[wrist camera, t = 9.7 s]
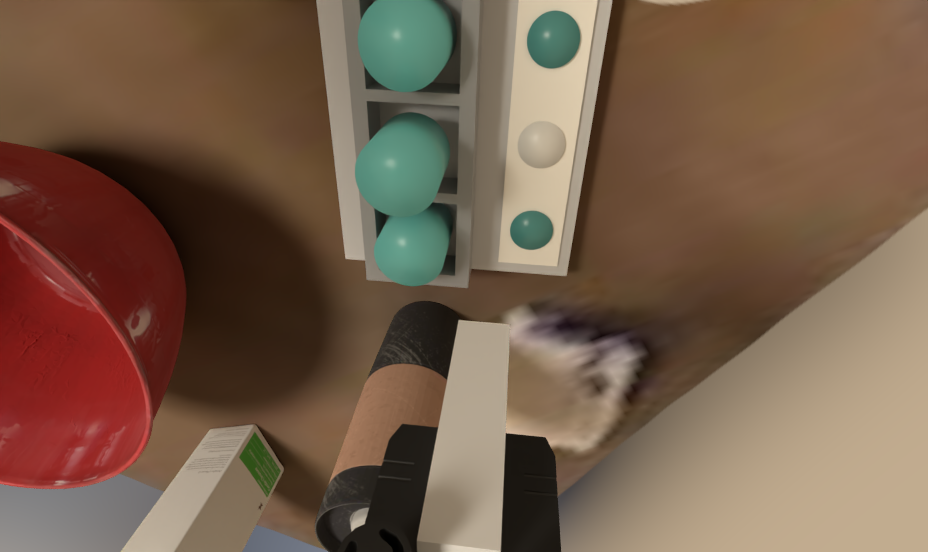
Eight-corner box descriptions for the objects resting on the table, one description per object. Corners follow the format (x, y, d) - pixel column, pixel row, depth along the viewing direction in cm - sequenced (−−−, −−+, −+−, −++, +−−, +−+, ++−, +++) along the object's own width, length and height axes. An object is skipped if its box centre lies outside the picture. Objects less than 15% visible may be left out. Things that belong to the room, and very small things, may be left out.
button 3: (389, 192, 36) (371, 221, 32) (453, 196, 36) (444, 226, 32) (392, 249, 39) (376, 283, 35) (452, 253, 39) (444, 288, 34)
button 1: (378, -12, 29) (353, -9, 25) (458, -9, 29) (446, -5, 25) (382, 73, 32) (361, 89, 28) (456, 77, 32) (445, 94, 27)
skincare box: (286, 468, 60) (219, 609, 47) (239, 472, 61) (161, 610, 48) (254, 420, 56) (171, 560, 43) (204, 426, 57) (109, 563, 44)
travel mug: (384, 353, 48) (310, 560, 31) (393, 290, 44) (313, 489, 27) (460, 369, 48) (427, 584, 32) (476, 308, 44) (448, 517, 27)
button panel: (322, -46, 31) (291, -48, 27) (612, -36, 30) (627, -36, 26) (352, 247, 42) (333, 278, 38) (564, 263, 41) (569, 297, 37)
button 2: (374, 110, 31) (351, 132, 27) (451, 114, 30) (439, 138, 26) (379, 182, 33) (358, 214, 29) (449, 187, 33) (439, 219, 29)
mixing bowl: (126, 24, 35) (-114, 58, 21) (306, 337, 48) (226, 473, 35) (-142, 130, 41) (-450, 205, 28) (83, 378, 55) (-53, 506, 42)
